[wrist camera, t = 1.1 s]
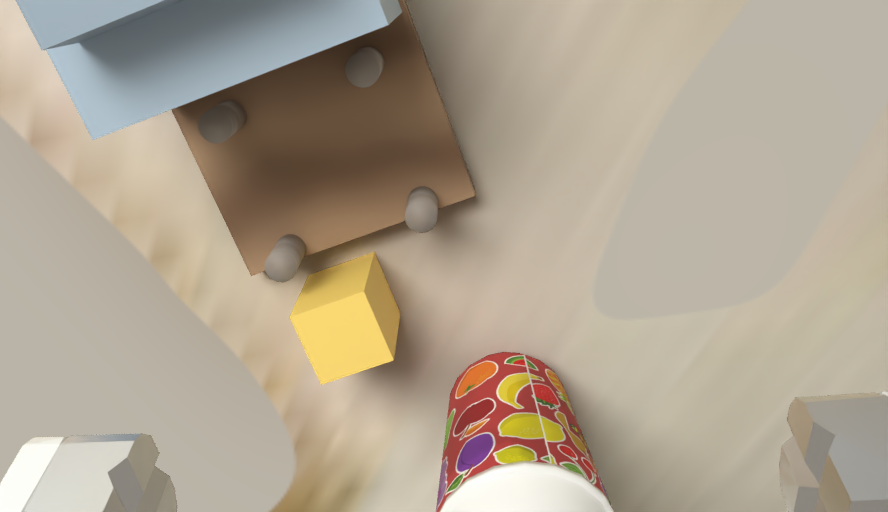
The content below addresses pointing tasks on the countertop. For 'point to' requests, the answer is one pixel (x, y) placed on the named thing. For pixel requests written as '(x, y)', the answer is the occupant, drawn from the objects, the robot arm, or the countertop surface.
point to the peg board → (328, 149)
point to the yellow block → (347, 319)
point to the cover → (182, 47)
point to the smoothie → (515, 443)
